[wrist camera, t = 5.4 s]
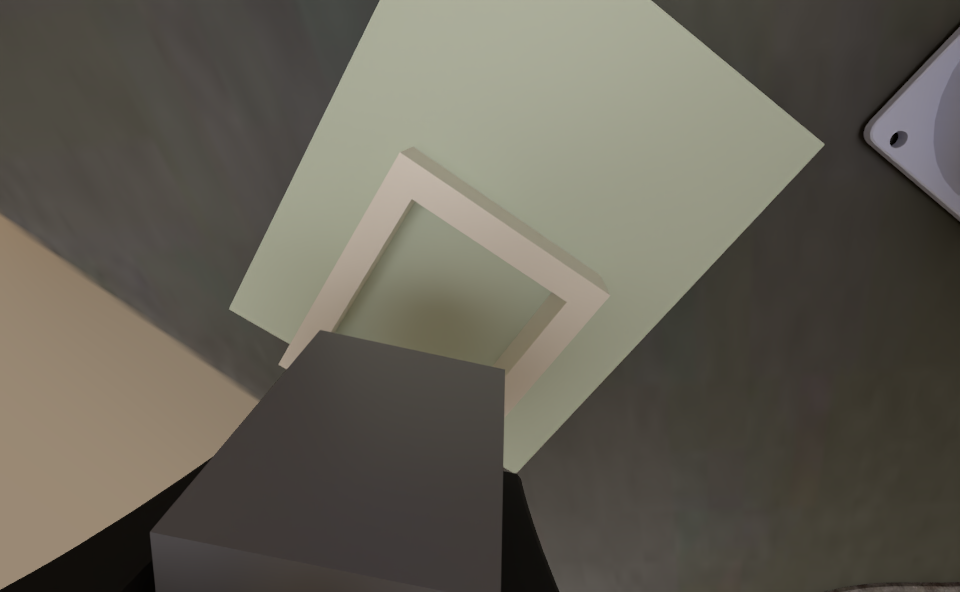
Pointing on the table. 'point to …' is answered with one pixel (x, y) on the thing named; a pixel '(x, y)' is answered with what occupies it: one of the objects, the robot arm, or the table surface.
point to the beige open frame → (491, 228)
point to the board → (528, 181)
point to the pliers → (902, 587)
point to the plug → (349, 481)
